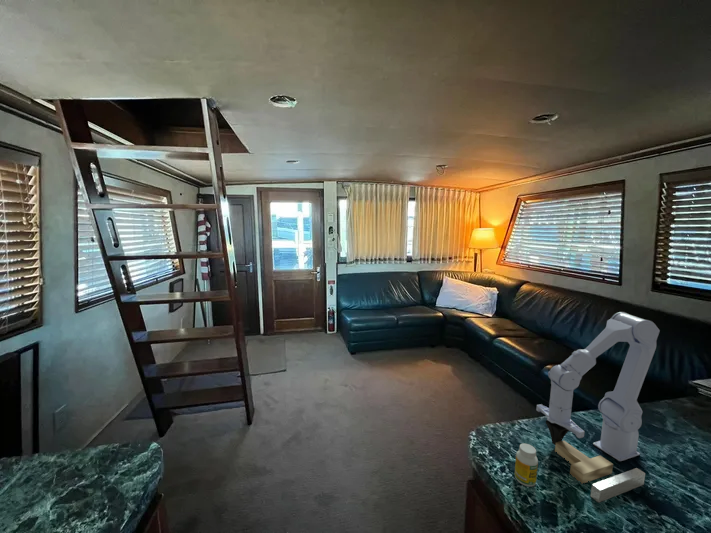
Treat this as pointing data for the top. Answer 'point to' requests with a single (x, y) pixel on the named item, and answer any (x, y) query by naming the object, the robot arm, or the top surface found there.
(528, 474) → the supplement bottle
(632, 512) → the top surface
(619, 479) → the rail
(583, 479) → the maple t block
